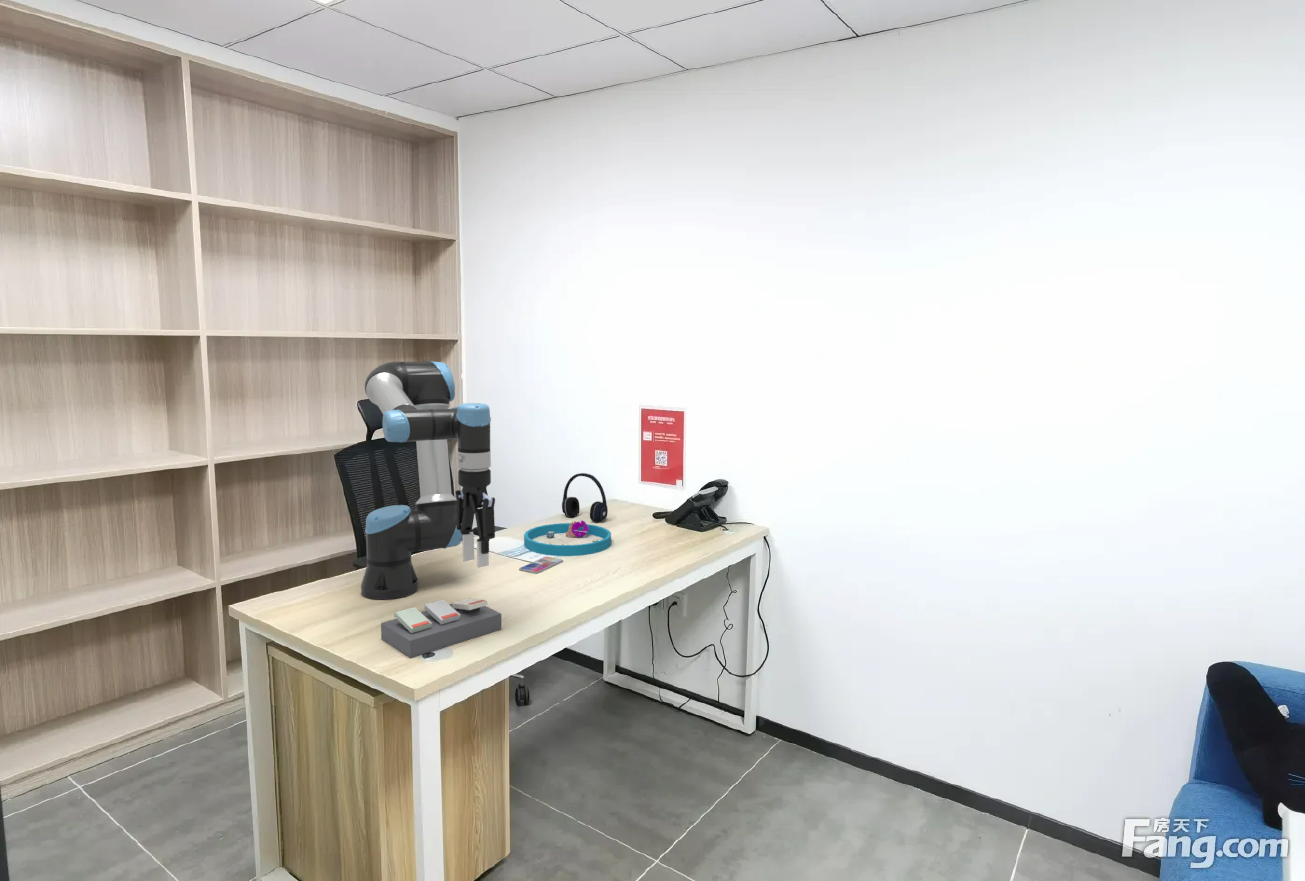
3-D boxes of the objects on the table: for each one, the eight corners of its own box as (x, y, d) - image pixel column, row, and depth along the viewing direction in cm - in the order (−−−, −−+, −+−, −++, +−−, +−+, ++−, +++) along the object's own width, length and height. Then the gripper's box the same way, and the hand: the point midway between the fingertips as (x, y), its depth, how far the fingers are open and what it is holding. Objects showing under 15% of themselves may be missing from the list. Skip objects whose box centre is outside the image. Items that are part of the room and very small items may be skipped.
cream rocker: (452, 608, 183) (451, 602, 183) (470, 603, 187) (469, 597, 187) (469, 610, 177) (468, 604, 177) (487, 605, 181) (486, 599, 181)
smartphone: (564, 559, 237) (537, 572, 223) (564, 562, 237) (537, 575, 223) (545, 555, 240) (517, 568, 227) (545, 558, 240) (517, 571, 227)
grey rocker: (424, 608, 178) (424, 603, 177) (442, 603, 181) (443, 598, 181) (441, 624, 173) (441, 619, 172) (460, 619, 176) (460, 614, 176)
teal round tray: (619, 536, 269) (619, 520, 268) (599, 560, 240) (599, 542, 239) (540, 531, 274) (540, 515, 273) (511, 554, 245) (511, 536, 244)
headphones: (559, 517, 294) (559, 471, 291) (570, 513, 300) (570, 469, 297) (599, 524, 283) (599, 478, 281) (609, 521, 289) (610, 475, 286)
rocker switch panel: (371, 633, 177) (371, 614, 177) (460, 608, 194) (459, 591, 194) (410, 657, 164) (409, 637, 164) (501, 629, 181) (501, 610, 181)
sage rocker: (394, 616, 172) (395, 611, 172) (414, 611, 176) (415, 606, 176) (411, 633, 167) (411, 627, 167) (431, 627, 171) (431, 622, 170)
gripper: (439, 465, 179) (441, 557, 182) (482, 476, 166) (483, 575, 169) (467, 461, 184) (468, 551, 188) (510, 472, 171) (511, 568, 175)
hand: (475, 562), depth 178 cm, fingers open, 6 cm apart
